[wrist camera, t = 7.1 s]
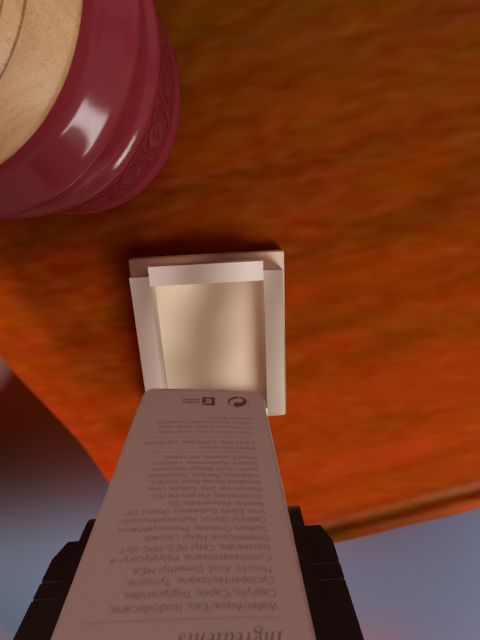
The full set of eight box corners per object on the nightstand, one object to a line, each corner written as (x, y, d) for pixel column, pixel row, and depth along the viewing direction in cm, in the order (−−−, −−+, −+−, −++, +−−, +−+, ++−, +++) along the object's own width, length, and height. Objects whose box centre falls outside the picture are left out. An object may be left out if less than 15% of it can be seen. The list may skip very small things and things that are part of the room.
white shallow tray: (281, 249, 25) (287, 254, 22) (283, 406, 28) (289, 425, 26) (132, 257, 25) (122, 263, 22) (153, 415, 28) (147, 434, 26)
